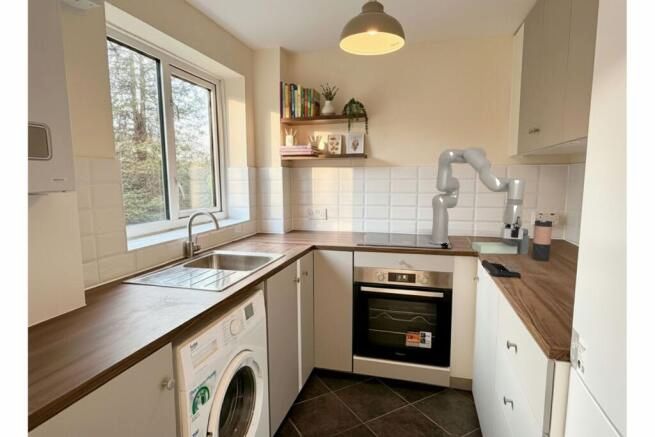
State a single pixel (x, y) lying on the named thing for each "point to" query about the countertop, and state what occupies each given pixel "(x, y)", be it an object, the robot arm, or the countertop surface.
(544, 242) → the travel mug
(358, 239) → the countertop surface
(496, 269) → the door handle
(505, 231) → the lock block
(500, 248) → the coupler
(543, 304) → the countertop surface
